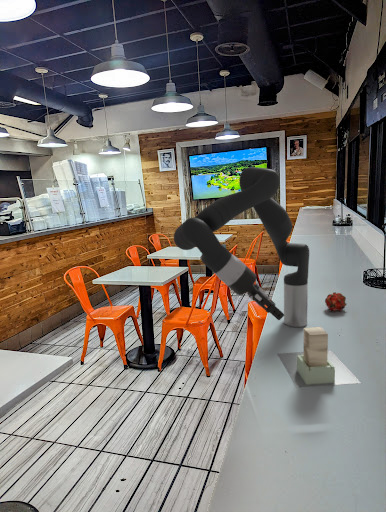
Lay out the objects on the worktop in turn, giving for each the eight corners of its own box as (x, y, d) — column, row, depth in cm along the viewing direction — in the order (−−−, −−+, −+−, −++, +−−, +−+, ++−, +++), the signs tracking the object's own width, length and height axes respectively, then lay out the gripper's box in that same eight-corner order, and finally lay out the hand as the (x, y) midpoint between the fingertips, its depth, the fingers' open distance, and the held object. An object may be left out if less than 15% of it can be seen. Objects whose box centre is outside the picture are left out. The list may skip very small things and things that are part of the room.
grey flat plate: (277, 356, 114) (277, 353, 114) (330, 352, 114) (330, 350, 114) (296, 390, 94) (296, 387, 94) (361, 386, 94) (361, 383, 94)
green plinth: (296, 369, 103) (296, 355, 102) (323, 368, 103) (323, 353, 102) (306, 384, 95) (306, 368, 94) (334, 382, 95) (335, 366, 94)
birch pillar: (303, 359, 101) (303, 327, 99) (320, 358, 101) (320, 326, 99) (309, 368, 96) (309, 335, 94) (327, 367, 96) (327, 333, 94)
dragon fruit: (340, 309, 158) (333, 321, 149) (325, 297, 161) (317, 308, 152) (352, 297, 153) (345, 308, 144) (336, 285, 156) (328, 295, 147)
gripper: (249, 270, 85) (295, 311, 87) (240, 259, 99) (279, 294, 101) (229, 291, 86) (274, 331, 88) (222, 277, 100) (262, 312, 102)
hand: (277, 311), depth 95 cm, fingers open, 8 cm apart
